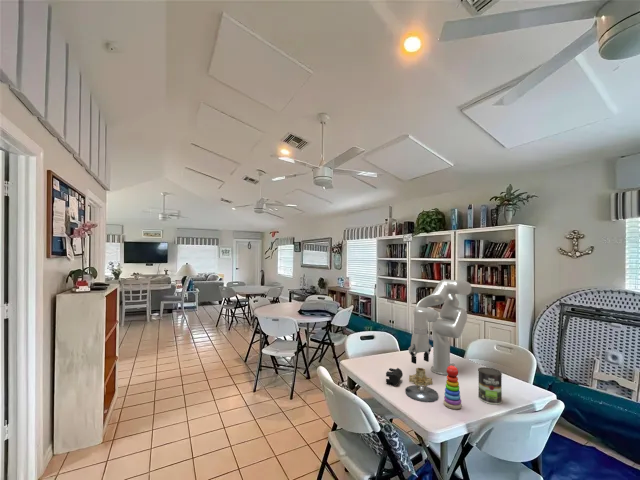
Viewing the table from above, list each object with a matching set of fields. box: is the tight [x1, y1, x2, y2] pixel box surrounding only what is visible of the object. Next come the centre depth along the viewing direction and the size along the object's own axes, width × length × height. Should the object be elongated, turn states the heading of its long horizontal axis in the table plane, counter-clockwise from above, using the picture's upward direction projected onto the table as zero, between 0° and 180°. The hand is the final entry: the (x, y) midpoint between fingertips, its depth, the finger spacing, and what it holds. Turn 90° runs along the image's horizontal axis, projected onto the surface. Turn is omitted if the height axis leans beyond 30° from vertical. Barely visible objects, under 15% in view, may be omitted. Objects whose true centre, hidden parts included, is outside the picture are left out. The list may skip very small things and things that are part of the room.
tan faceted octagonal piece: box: [408, 367, 434, 387], centre depth 169 cm, size 12×12×6 cm
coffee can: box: [477, 366, 503, 406], centre depth 149 cm, size 10×10×14 cm
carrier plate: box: [404, 384, 439, 403], centre depth 153 cm, size 16×16×4 cm
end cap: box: [385, 367, 404, 387], centre depth 166 cm, size 10×7×7 cm
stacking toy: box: [443, 365, 463, 410], centre depth 142 cm, size 8×8×19 cm
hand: (420, 362), depth 169 cm, fingers open, 9 cm apart
